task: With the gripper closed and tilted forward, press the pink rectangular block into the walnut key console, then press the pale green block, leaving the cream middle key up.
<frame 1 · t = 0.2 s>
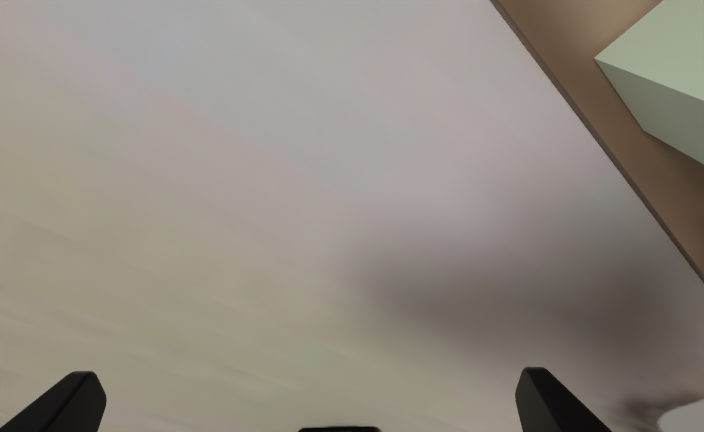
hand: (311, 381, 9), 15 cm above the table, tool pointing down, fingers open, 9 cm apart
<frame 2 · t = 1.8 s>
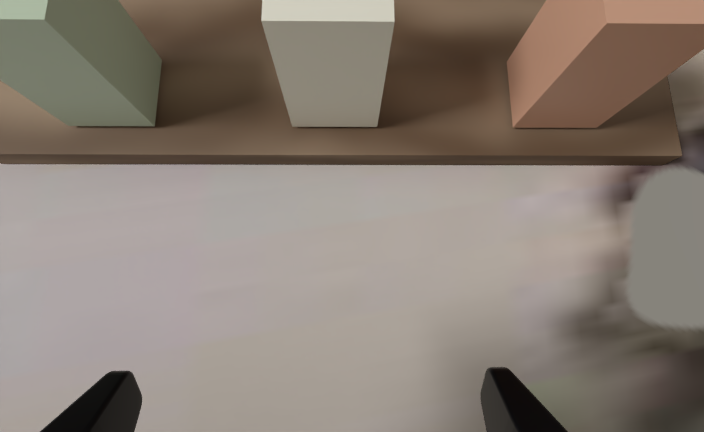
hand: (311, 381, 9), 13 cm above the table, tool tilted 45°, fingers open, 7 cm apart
cream key: (332, 45, 19), point 6 cm above the table, slide at 0.0 cm
key console: (336, 56, 26), on the table
pale green block: (65, 44, 19), point 6 cm above the table, slide at 0.0 cm
pink rectangular block: (594, 47, 19), point 6 cm above the table, slide at 0.0 cm
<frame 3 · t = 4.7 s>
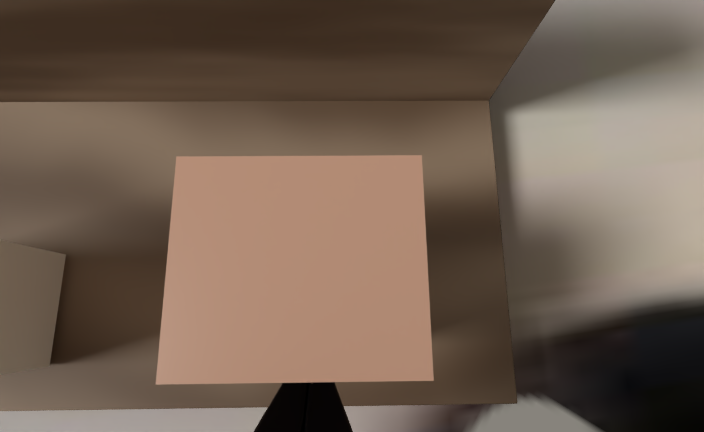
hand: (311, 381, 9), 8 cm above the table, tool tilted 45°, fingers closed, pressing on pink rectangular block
key console: (43, 226, 18), on the table
pink rectangular block: (314, 281, 12), point 6 cm above the table, slide at 0.6 cm, touching gripper
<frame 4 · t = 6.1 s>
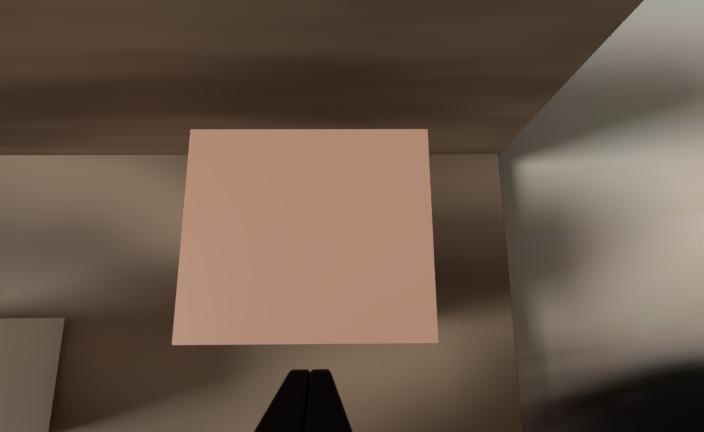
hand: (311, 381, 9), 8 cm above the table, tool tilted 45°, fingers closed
key console: (42, 280, 18), on the table
pink rectangular block: (321, 259, 12), point 6 cm above the table, slide at 3.6 cm
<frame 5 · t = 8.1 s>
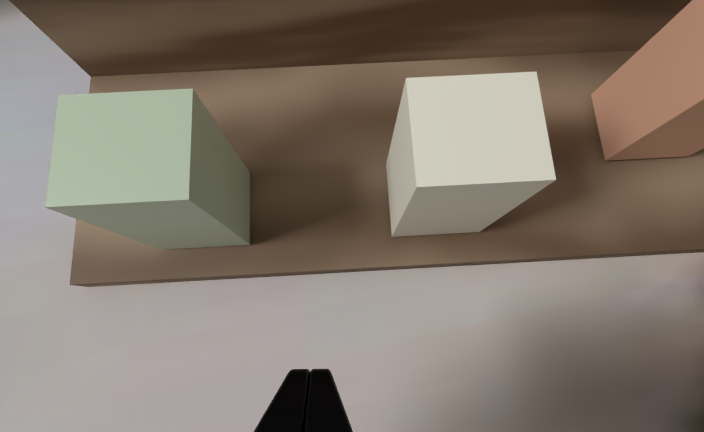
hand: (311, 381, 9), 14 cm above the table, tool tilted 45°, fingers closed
cream key: (449, 170, 18), point 6 cm above the table, slide at 0.0 cm
key console: (420, 150, 25), on the table
pale green block: (173, 185, 18), point 6 cm above the table, slide at 0.0 cm
pink rectangular block: (699, 83, 19), point 6 cm above the table, slide at 3.6 cm
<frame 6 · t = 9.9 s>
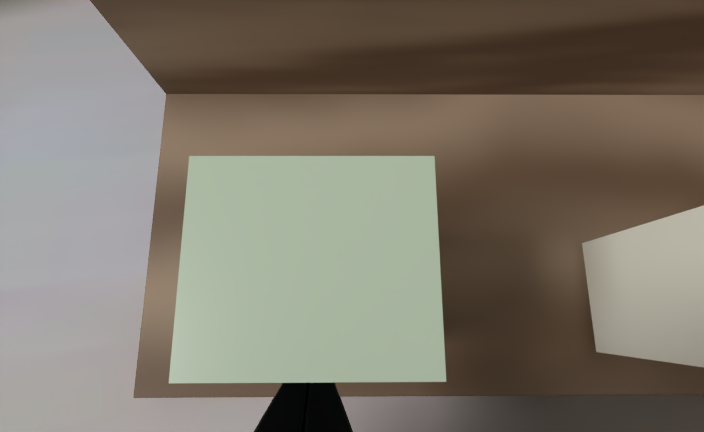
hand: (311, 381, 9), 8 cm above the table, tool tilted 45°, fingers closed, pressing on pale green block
key console: (607, 216, 18), on the table
pale green block: (323, 281, 12), point 6 cm above the table, slide at 0.2 cm, touching gripper
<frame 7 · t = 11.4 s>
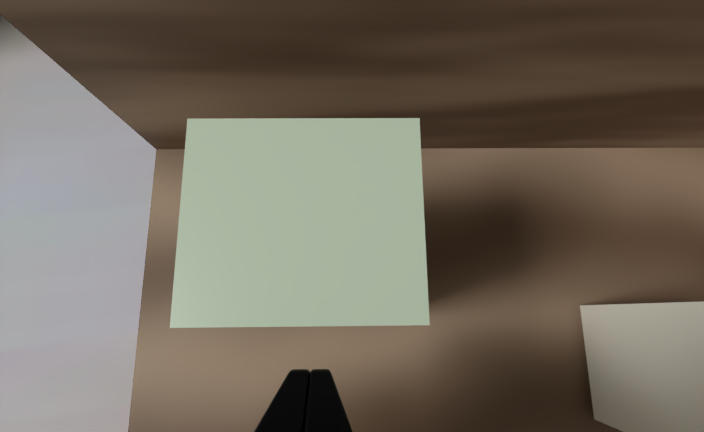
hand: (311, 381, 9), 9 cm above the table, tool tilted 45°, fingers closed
key console: (605, 270, 18), on the table
pale green block: (317, 249, 12), point 6 cm above the table, slide at 3.6 cm
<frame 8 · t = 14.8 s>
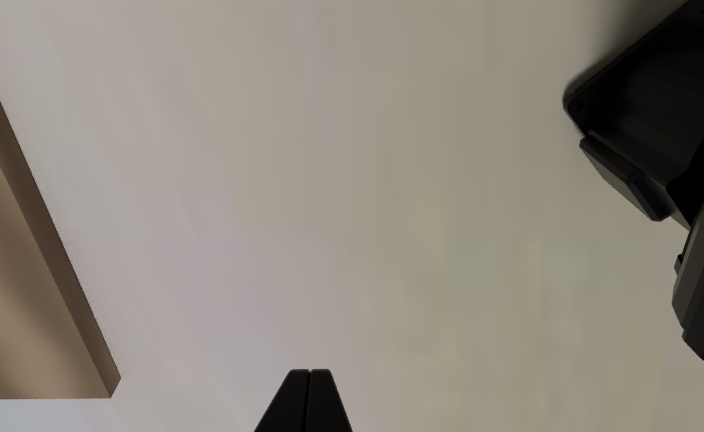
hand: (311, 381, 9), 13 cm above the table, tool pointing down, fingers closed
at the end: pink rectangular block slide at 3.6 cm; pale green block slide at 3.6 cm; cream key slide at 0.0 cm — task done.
